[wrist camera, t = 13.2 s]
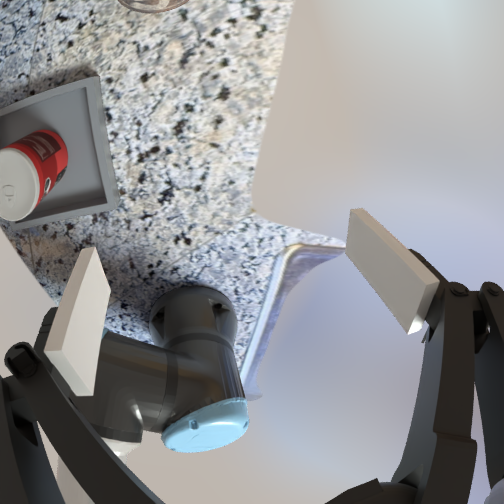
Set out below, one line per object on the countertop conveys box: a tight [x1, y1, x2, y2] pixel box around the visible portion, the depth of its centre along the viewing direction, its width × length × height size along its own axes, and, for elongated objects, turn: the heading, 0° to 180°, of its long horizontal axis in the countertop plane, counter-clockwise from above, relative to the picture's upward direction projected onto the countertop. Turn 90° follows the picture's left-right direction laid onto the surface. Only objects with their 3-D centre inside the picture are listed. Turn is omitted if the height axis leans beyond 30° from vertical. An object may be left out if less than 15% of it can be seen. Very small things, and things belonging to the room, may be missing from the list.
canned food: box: [0, 130, 68, 221], centre depth 28 cm, size 8×8×11 cm
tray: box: [0, 76, 120, 232], centre depth 32 cm, size 17×17×3 cm
